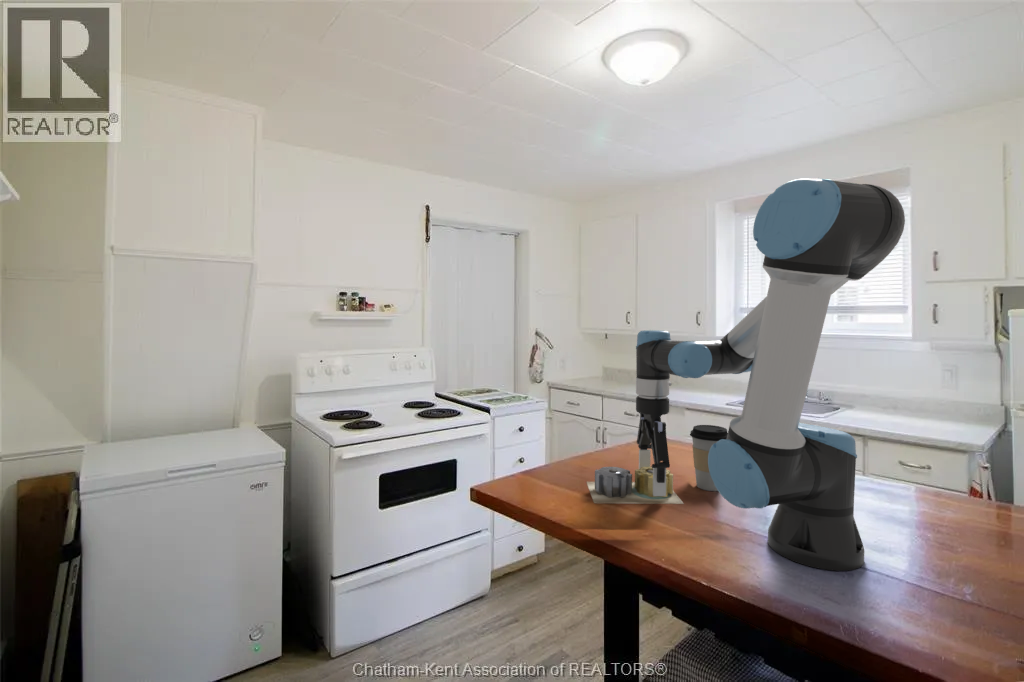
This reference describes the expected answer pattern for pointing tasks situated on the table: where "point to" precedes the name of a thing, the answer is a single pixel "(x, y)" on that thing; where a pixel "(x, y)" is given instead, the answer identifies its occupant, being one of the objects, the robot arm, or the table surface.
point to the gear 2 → (650, 482)
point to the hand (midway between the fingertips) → (651, 485)
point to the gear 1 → (613, 482)
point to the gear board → (632, 496)
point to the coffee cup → (705, 452)
